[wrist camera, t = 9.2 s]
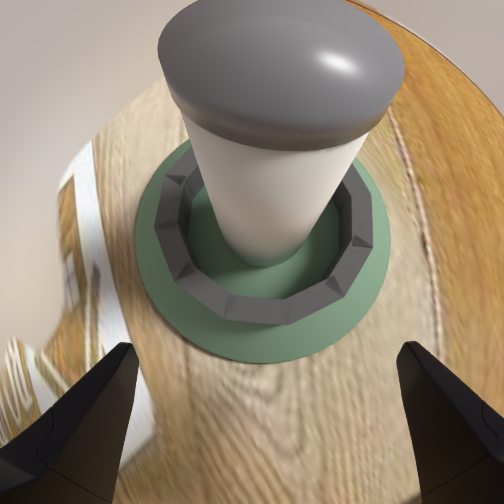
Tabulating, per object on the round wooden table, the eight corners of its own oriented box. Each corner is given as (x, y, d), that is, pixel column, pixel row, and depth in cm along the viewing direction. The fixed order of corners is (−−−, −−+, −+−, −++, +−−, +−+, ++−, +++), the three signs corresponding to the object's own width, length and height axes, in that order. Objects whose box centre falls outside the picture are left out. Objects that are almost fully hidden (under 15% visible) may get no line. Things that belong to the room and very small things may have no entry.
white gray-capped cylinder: (268, 287, 17) (317, 178, 4) (201, 228, 17) (112, 50, 5) (324, 221, 17) (432, 52, 5) (259, 169, 18) (267, -27, 6)
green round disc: (196, 403, 15) (186, 417, 13) (112, 175, 19) (94, 155, 16) (425, 286, 17) (450, 280, 14) (313, 97, 20) (319, 72, 17)
